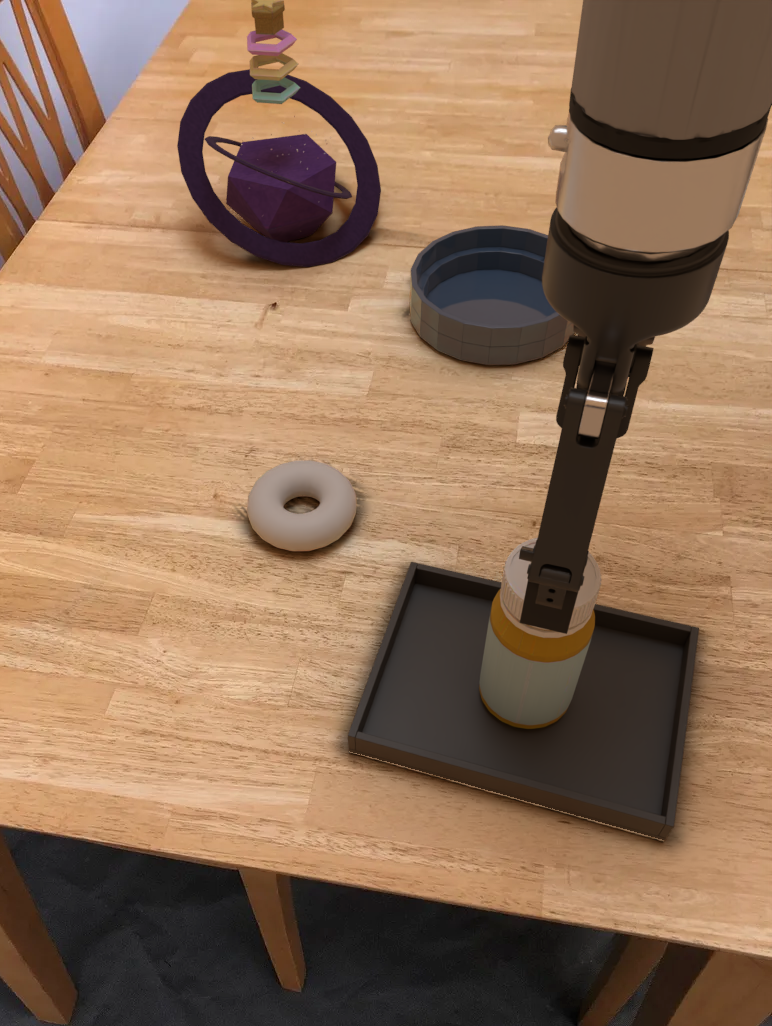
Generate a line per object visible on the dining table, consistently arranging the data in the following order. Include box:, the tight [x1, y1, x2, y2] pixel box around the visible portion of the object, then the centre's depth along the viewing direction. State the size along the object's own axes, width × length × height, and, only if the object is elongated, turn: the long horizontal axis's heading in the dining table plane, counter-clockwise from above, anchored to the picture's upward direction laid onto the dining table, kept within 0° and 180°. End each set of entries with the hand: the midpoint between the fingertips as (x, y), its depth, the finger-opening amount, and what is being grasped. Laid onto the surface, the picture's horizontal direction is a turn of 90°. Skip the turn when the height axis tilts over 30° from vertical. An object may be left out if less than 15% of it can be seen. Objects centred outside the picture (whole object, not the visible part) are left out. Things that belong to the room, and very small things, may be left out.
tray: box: [347, 561, 700, 841], centre depth 71 cm, size 23×17×3 cm
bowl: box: [409, 224, 575, 366], centre depth 99 cm, size 18×18×5 cm
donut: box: [246, 459, 358, 552], centre depth 83 cm, size 10×4×10 cm
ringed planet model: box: [176, 0, 382, 268], centre depth 103 cm, size 22×21×25 cm
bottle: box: [479, 537, 602, 729], centre depth 65 cm, size 7×7×15 cm
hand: (565, 536), depth 57 cm, fingers open, 13 cm apart
